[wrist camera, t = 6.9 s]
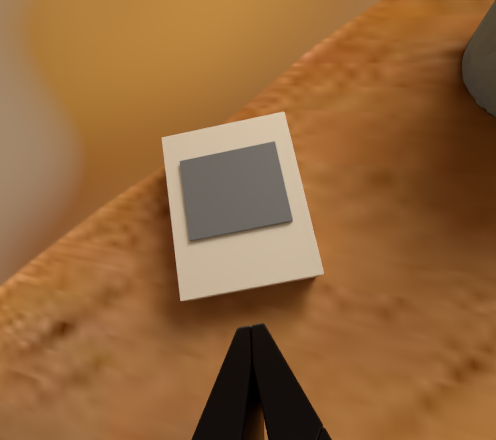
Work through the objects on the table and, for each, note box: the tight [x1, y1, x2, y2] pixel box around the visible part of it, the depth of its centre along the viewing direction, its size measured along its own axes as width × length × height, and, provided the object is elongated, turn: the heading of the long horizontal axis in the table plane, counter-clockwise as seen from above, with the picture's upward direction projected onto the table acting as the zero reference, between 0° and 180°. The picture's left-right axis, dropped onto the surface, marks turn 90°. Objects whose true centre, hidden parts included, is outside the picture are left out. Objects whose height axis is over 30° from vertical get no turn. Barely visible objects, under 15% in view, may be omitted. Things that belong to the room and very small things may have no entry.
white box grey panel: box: [162, 112, 324, 301], centre depth 16 cm, size 3×7×9 cm
